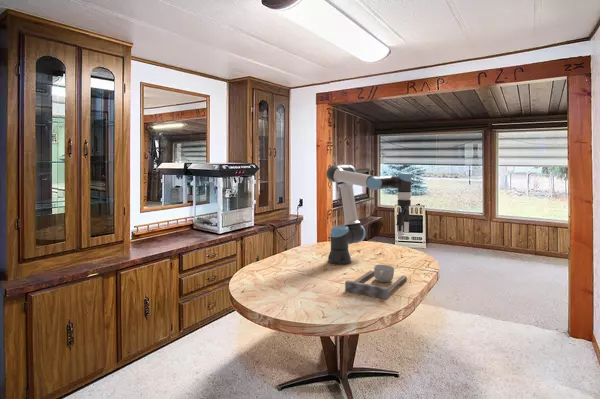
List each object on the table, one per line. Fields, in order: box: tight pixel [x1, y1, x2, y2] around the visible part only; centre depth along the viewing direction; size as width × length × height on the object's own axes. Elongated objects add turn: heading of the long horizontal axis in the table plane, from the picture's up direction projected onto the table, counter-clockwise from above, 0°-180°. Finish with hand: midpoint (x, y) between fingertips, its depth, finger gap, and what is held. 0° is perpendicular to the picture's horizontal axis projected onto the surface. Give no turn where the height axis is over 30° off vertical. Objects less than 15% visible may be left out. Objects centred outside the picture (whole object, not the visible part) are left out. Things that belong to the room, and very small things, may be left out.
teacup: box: [373, 264, 395, 283], centre depth 202 cm, size 14×11×8 cm
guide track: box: [344, 270, 408, 300], centre depth 195 cm, size 22×32×5 cm
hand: (403, 234), depth 219 cm, fingers open, 13 cm apart
